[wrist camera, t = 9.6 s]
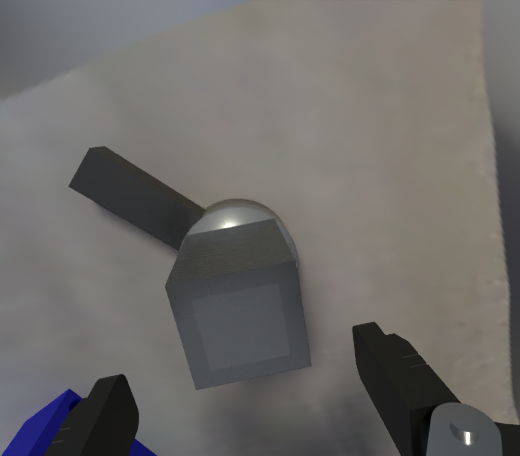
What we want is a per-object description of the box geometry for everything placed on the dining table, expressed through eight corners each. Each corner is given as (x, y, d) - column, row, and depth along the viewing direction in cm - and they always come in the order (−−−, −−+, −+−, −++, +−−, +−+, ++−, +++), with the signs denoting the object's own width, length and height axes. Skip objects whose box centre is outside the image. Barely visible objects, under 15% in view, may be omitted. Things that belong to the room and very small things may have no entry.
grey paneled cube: (274, 218, 18) (295, 260, 12) (287, 295, 19) (311, 366, 13) (186, 235, 18) (165, 285, 12) (206, 312, 19) (196, 389, 13)
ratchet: (311, 236, 21) (345, 281, 15) (251, 315, 22) (259, 386, 16) (124, 111, 18) (66, 100, 11) (67, 212, 19) (-12, 251, 13)
